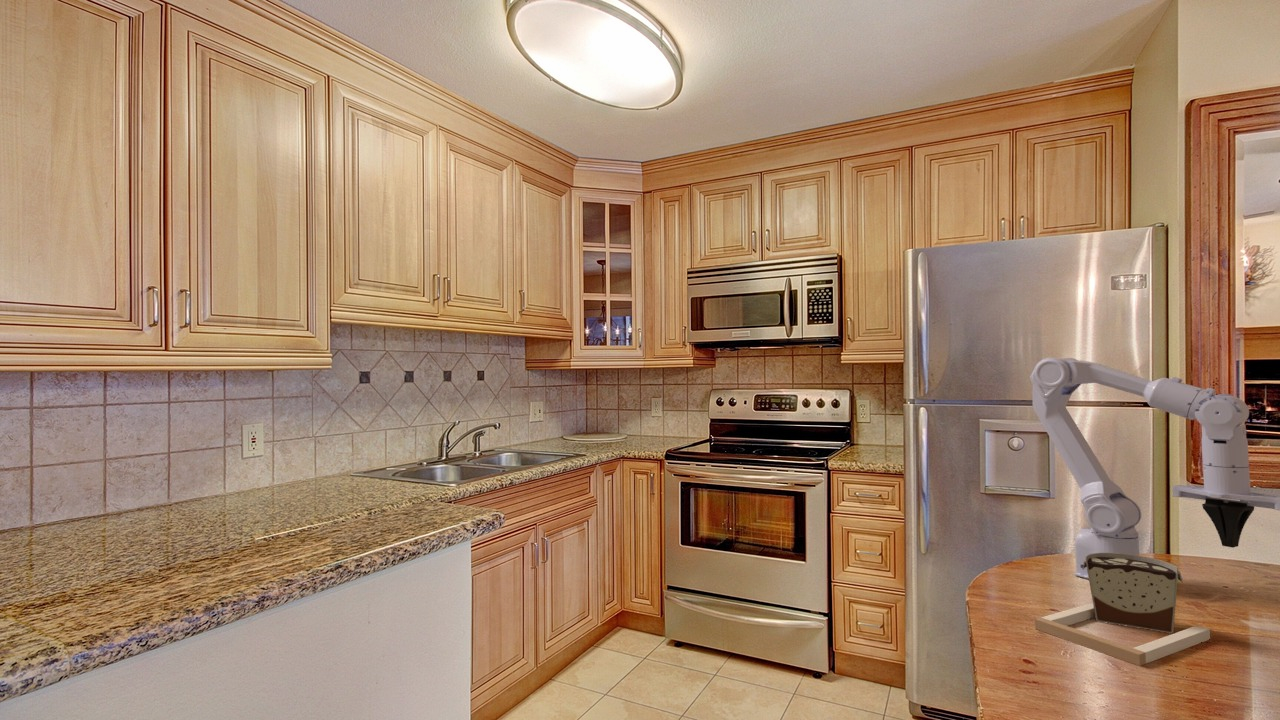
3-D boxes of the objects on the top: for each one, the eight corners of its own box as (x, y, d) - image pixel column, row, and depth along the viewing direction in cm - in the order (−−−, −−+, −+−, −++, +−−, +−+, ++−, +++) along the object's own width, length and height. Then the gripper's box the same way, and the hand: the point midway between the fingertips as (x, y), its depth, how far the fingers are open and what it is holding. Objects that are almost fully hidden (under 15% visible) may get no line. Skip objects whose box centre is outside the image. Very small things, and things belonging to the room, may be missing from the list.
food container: (1179, 622, 96) (1176, 558, 97) (1186, 636, 91) (1182, 568, 91) (1083, 607, 103) (1080, 548, 103) (1084, 619, 98) (1081, 556, 98)
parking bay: (1035, 628, 95) (1034, 619, 95) (1105, 608, 102) (1104, 599, 103) (1139, 665, 82) (1139, 654, 82) (1210, 639, 90) (1209, 628, 90)
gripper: (1161, 462, 108) (1165, 539, 108) (1272, 472, 95) (1277, 560, 95) (1182, 459, 111) (1187, 534, 111) (1292, 469, 98) (1298, 554, 98)
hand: (1230, 546), depth 103 cm, fingers closed
